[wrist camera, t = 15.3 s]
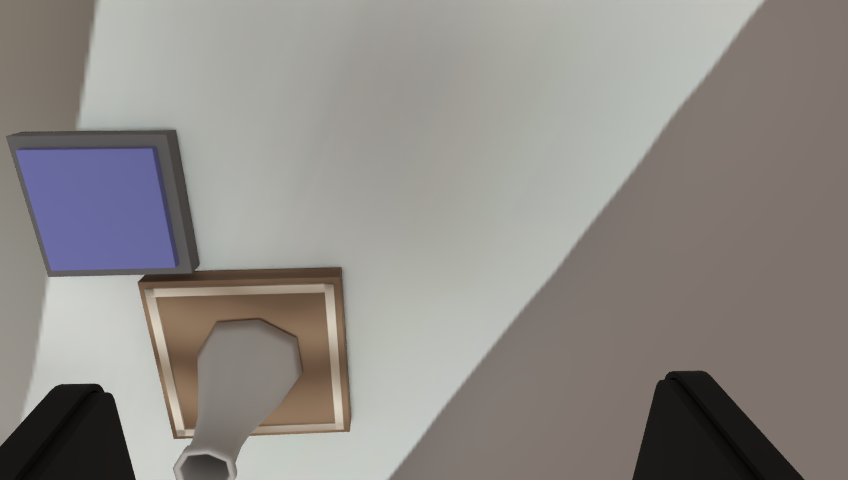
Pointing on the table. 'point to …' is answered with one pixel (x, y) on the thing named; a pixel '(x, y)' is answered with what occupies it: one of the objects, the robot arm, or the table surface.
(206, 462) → the flask
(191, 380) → the marked board
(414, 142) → the table surface
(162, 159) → the ink pad
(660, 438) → the robot arm
